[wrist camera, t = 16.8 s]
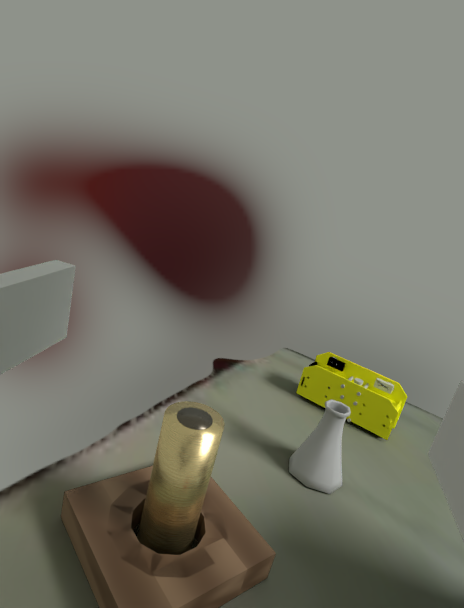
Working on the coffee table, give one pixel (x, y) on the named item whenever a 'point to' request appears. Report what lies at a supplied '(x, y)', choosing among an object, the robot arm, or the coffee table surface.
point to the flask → (322, 451)
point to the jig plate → (161, 567)
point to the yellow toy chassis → (354, 392)
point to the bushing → (180, 477)
